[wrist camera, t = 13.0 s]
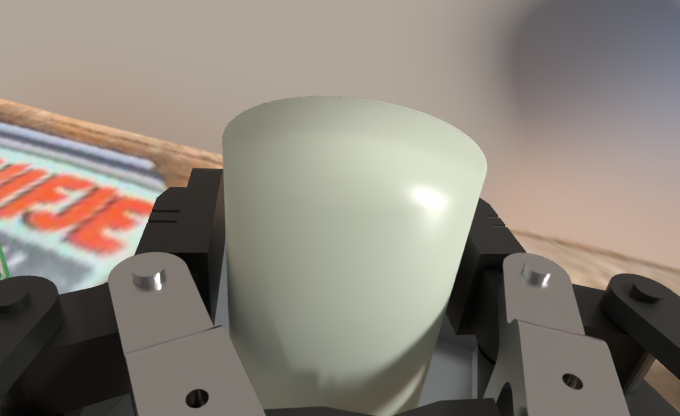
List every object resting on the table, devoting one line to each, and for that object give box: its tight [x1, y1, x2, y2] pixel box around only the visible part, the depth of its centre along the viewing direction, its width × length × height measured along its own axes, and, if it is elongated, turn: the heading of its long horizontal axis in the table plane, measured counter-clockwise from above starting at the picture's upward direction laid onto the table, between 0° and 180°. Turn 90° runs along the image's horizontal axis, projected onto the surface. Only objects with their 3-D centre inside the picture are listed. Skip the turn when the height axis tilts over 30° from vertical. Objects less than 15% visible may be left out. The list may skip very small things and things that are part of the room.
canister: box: [222, 96, 487, 416], centre depth 12 cm, size 5×5×12 cm
